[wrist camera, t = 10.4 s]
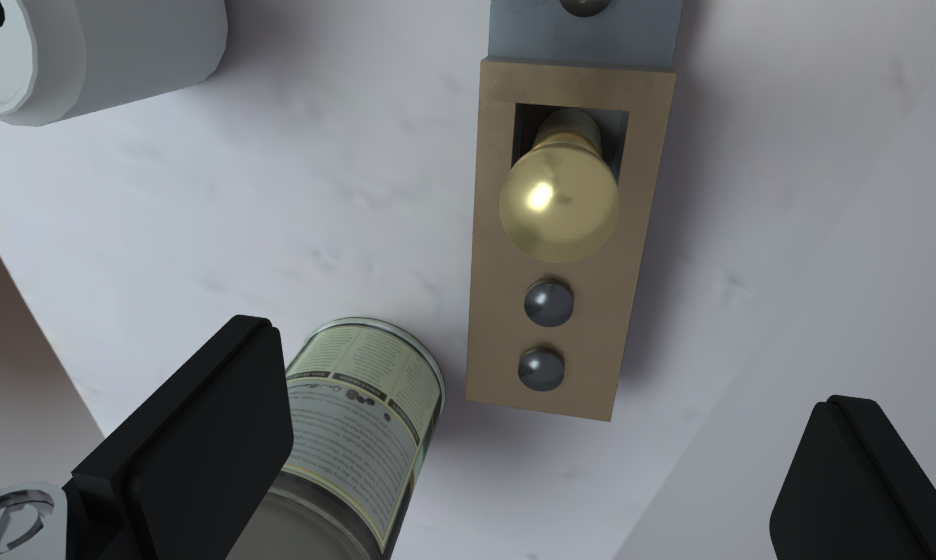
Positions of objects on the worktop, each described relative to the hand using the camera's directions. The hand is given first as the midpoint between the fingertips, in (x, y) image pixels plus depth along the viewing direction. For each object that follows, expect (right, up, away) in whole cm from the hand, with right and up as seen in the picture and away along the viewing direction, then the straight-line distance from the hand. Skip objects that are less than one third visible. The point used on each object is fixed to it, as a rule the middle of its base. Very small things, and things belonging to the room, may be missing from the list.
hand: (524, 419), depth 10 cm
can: (-16, +17, +20) cm, 31 cm away
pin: (+4, +9, +19) cm, 22 cm away
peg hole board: (+4, +9, +19) cm, 22 cm away
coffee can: (-7, -4, +29) cm, 30 cm away
